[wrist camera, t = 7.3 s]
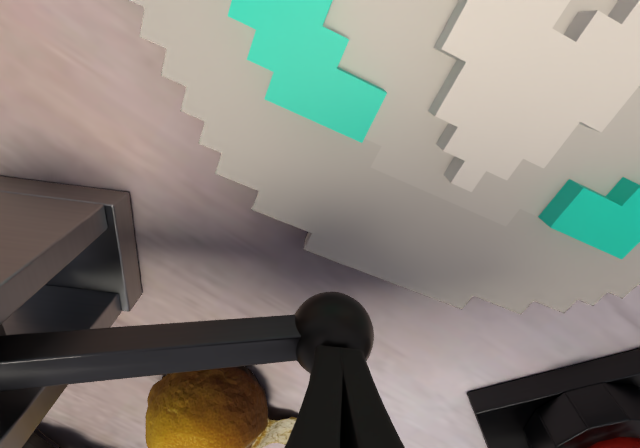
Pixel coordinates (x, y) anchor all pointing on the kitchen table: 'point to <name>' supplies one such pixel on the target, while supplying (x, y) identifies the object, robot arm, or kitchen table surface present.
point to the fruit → (212, 411)
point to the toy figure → (37, 442)
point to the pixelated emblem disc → (429, 134)
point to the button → (618, 443)
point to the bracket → (60, 275)
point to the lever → (183, 345)
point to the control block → (563, 406)
